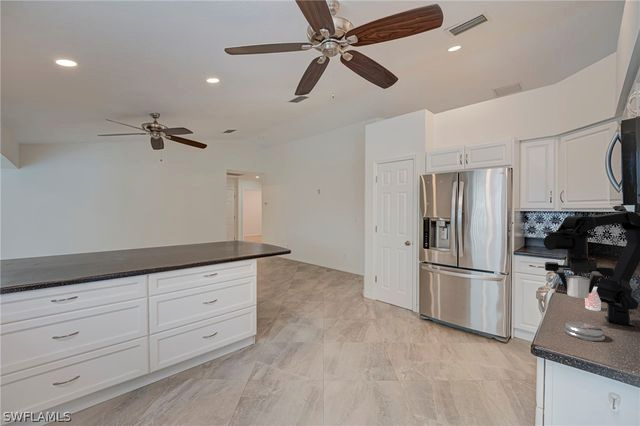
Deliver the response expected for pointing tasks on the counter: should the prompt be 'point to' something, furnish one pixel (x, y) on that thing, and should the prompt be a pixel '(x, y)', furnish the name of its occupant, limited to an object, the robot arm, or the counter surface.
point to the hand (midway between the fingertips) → (577, 291)
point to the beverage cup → (593, 301)
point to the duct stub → (584, 331)
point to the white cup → (577, 286)
